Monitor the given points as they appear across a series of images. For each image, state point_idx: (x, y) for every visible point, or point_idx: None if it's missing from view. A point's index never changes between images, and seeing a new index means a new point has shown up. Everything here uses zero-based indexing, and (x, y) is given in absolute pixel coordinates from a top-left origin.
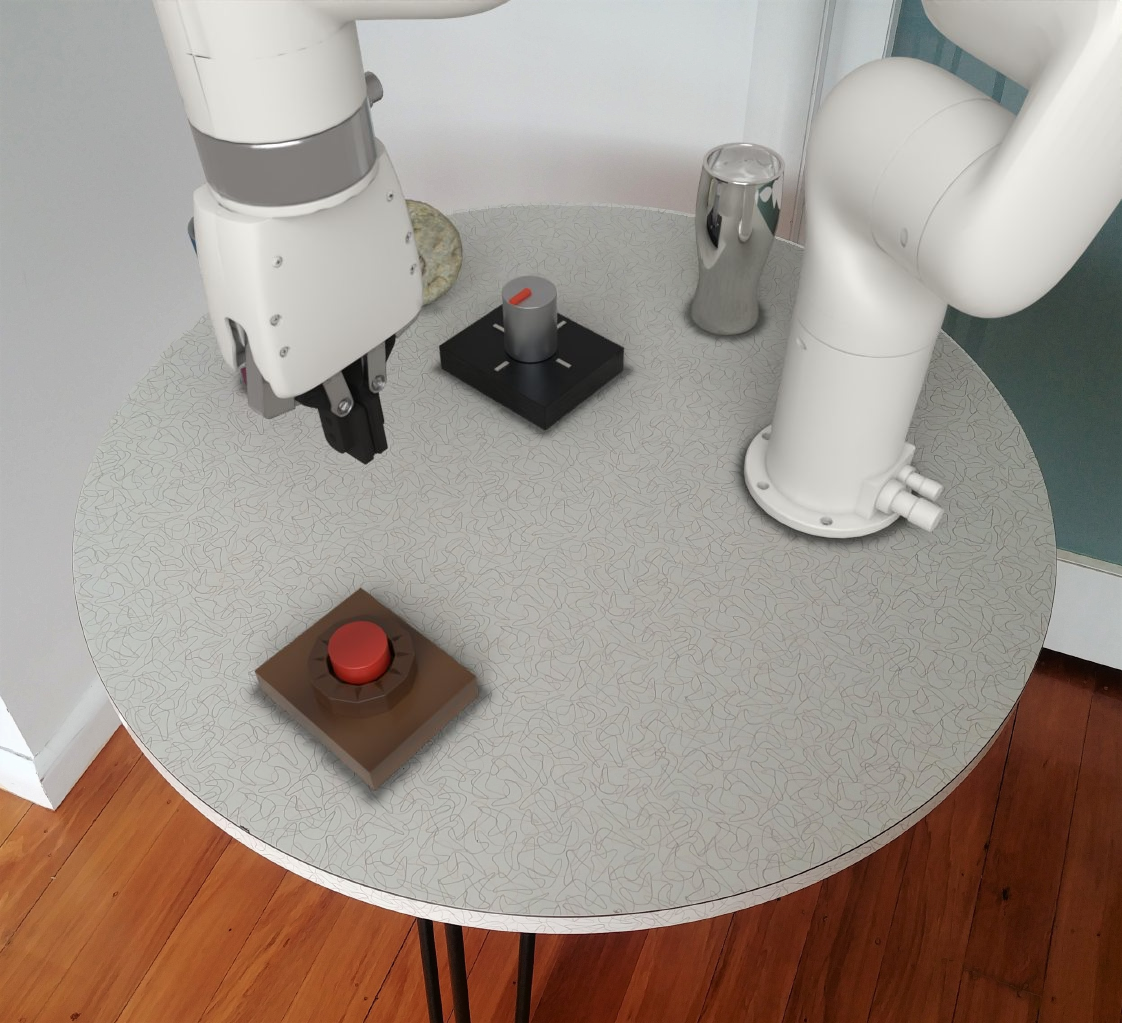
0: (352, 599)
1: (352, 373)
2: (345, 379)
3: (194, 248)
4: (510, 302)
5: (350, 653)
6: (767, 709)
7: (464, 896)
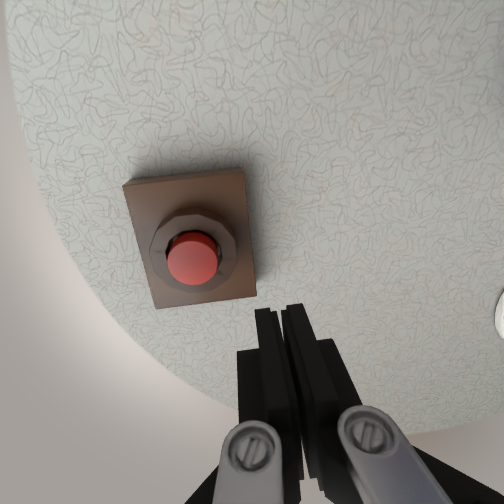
0: (229, 178)
1: (346, 492)
2: (325, 469)
3: None
4: None
5: (182, 267)
6: (362, 379)
7: (168, 366)
